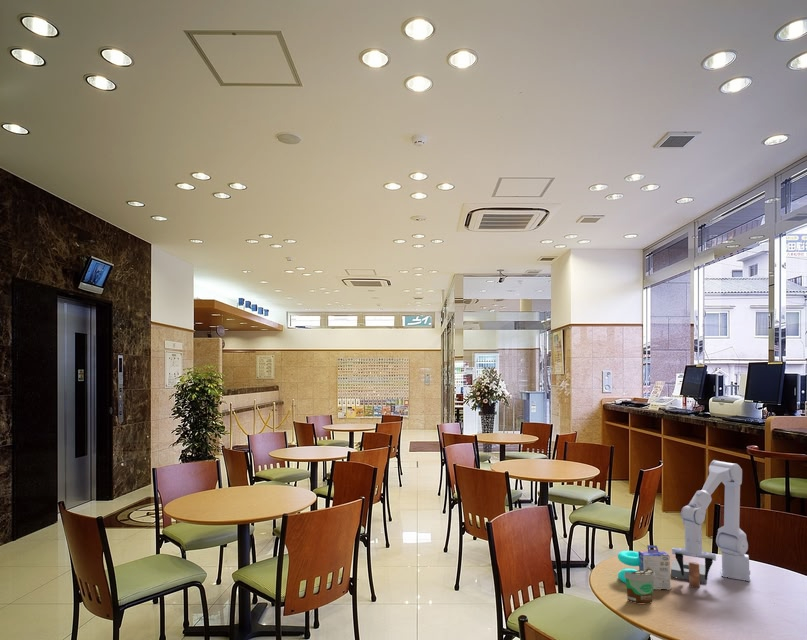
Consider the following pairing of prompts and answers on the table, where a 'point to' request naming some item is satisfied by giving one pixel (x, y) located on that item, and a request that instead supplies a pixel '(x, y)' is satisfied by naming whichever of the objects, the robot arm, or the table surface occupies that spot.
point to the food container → (640, 585)
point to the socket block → (686, 571)
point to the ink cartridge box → (656, 566)
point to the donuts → (628, 562)
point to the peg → (694, 574)
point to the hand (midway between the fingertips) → (694, 576)
